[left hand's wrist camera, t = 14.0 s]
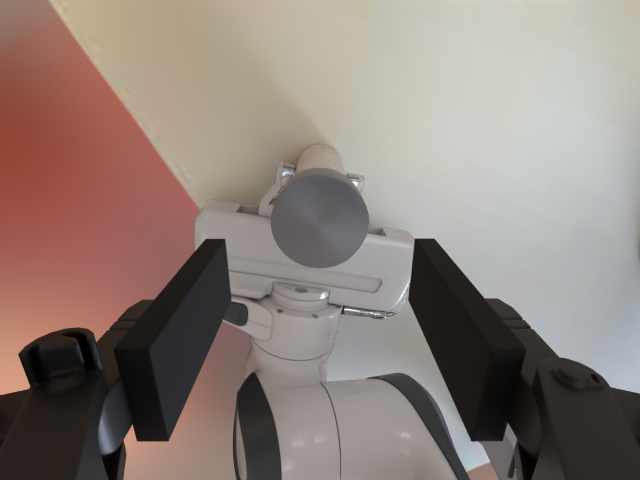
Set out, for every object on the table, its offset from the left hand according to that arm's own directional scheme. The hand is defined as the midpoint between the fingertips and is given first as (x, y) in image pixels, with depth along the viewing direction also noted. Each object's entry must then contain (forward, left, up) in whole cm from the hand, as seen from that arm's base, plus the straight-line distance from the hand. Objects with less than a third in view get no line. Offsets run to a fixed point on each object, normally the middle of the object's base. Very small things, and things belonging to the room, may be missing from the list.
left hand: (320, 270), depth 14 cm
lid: (0, 0, -6) cm, 6 cm away
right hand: (0, +1, -18) cm, 18 cm away
